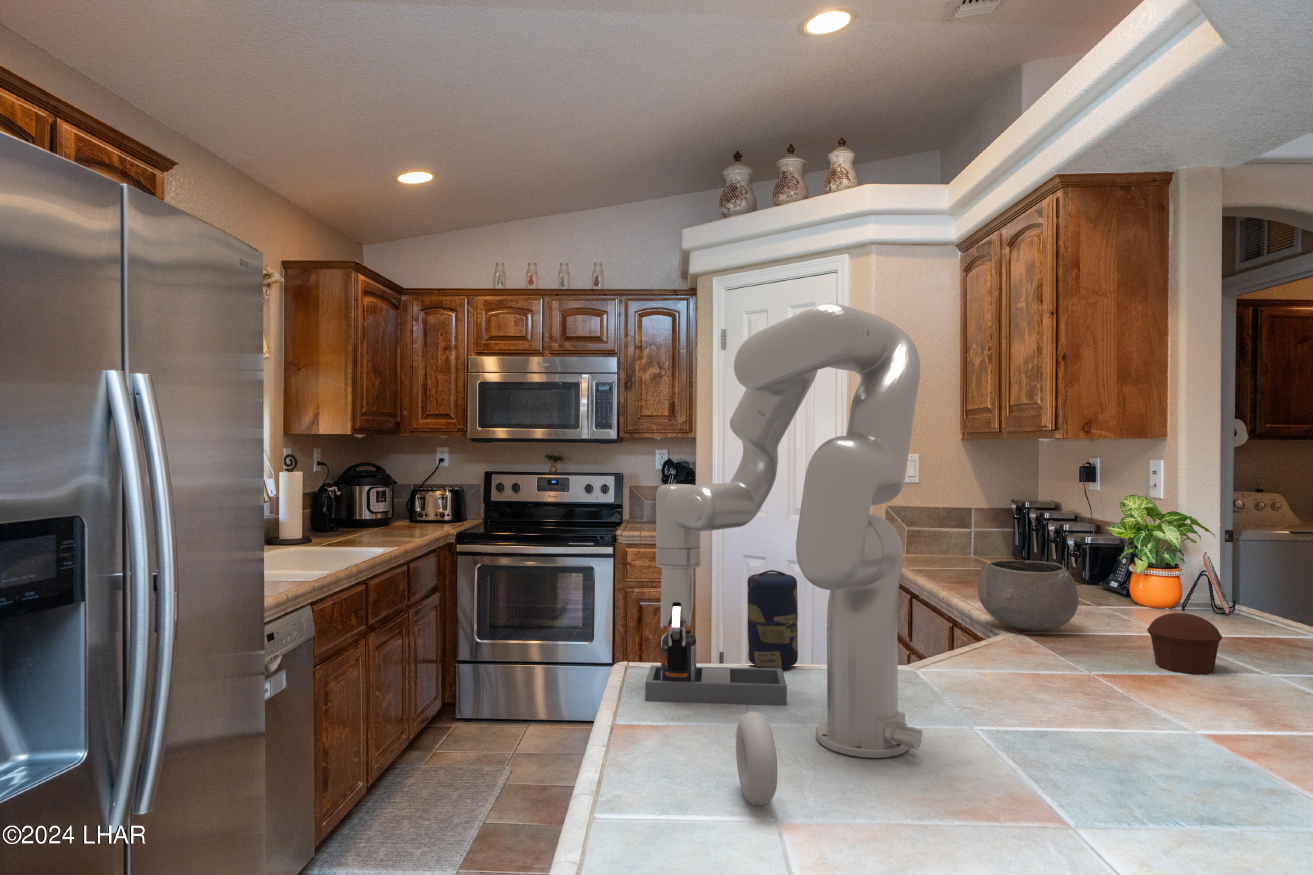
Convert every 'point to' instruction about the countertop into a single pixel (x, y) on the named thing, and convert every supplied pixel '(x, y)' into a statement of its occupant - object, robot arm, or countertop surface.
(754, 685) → the frame
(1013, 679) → the countertop surface
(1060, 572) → the clay pot
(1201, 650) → the muffin
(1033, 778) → the countertop surface
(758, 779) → the donut
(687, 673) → the pill bottle
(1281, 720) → the countertop surface
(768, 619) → the canister
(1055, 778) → the countertop surface
